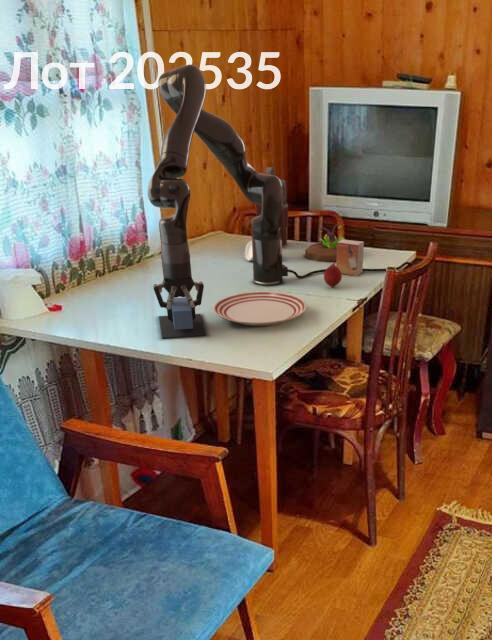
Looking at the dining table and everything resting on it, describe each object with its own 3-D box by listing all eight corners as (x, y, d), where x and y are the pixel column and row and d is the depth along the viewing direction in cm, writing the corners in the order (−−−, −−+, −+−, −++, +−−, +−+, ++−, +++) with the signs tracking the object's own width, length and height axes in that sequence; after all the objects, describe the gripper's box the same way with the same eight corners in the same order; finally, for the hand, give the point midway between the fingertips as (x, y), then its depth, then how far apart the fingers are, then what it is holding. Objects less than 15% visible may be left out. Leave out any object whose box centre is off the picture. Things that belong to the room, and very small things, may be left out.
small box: (335, 273, 258) (336, 242, 252) (341, 269, 262) (342, 238, 256) (357, 276, 255) (358, 244, 249) (362, 272, 260) (364, 241, 254)
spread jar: (285, 259, 272) (284, 226, 266) (266, 265, 264) (265, 231, 258) (259, 254, 277) (258, 221, 271) (240, 260, 269) (238, 227, 263)
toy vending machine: (283, 249, 283) (282, 170, 268) (257, 246, 286) (254, 168, 271) (292, 244, 291) (291, 166, 275) (266, 241, 294) (264, 164, 278)
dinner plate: (270, 338, 202) (270, 326, 201) (194, 319, 214) (193, 308, 212) (324, 312, 222) (324, 301, 220) (251, 296, 234) (251, 285, 232)
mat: (200, 315, 218) (200, 313, 218) (206, 336, 203) (206, 334, 203) (158, 317, 215) (158, 316, 215) (162, 338, 201) (161, 337, 201)
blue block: (172, 311, 198) (170, 298, 208) (174, 329, 201) (171, 315, 211) (191, 310, 199) (188, 297, 209) (193, 328, 202) (189, 314, 212)
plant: (349, 264, 268) (350, 232, 261) (299, 259, 273) (299, 227, 266) (365, 251, 283) (366, 221, 277) (317, 246, 288) (318, 216, 282)
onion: (339, 290, 241) (339, 265, 236) (322, 289, 242) (322, 264, 237) (342, 285, 245) (343, 261, 241) (325, 284, 246) (326, 259, 242)
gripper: (201, 253, 203) (206, 314, 212) (148, 256, 200) (155, 318, 209) (204, 261, 197) (209, 323, 206) (149, 263, 194) (156, 326, 203)
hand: (182, 320), depth 207 cm, fingers closed on blue block, 5 cm apart
